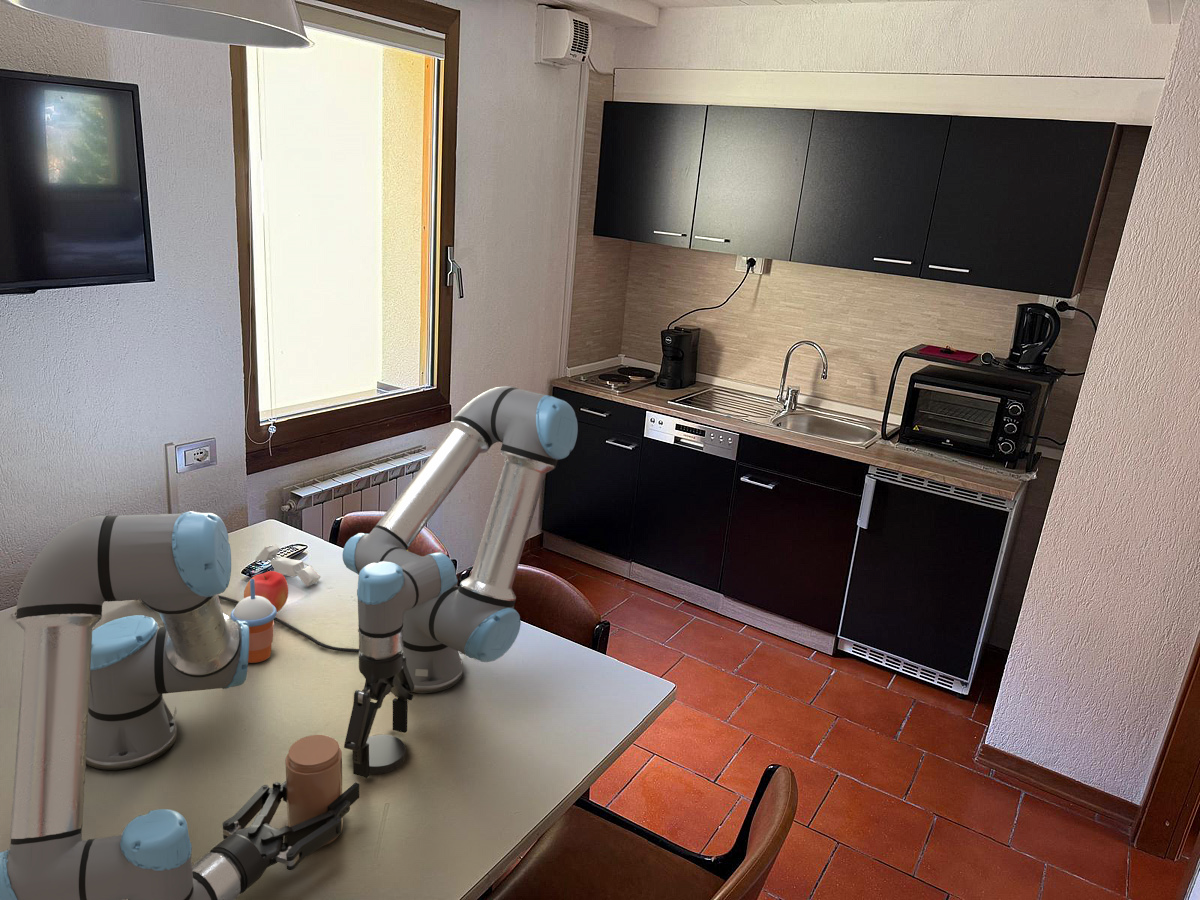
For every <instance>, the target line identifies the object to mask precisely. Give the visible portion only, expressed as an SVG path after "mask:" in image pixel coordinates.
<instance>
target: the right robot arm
mask: <svg viewBox="0 0 1200 900" xmlns="http://www.w3.org/2000/svg"><path fill="white" fill-rule="evenodd" d="M578 426H579V425H578V419H577V416H576V411H575V410H574V408H573V407H572V405H570V404H569V403H568V402H567V401H565V400H564V399H560V398H557V397H555V396H553V395H548V394H543V393H539V392H535V391H534V392H533V391H530V390H526V389H521V388H518V387H514V386H509V385H504V386H503V385H502V386H496V387H493V388H490V389H488V390H486V391H484V392H482V393H480V394H478V395H477V396H476V397H474V398H472V399H471V400H470V401H469V402H467V403H466V404H465V405H464V406H463V407H462V408H461V409H460V410H459V411H458V412H457V413H456V414H455V415H454V417H453V418H452V419H451V421H450V422H449V423H448V433H447V434H446V435H445V437H444V438H443V439H442V440H441V441H440V443H439V444H438V445H437V447H436V448H435V449H434V450H433V452H432V453H431V454H430V455H429V457H428V458H427V459H426V461H425V462H424V463H423V464H422V465H421V467H420V469H419V470H418V471H417V472H416V473H415V475H414V476H413V477H412V478H411V480H410V481H409V482H408V484H407V485H406V486H405V487H404V489H403V490H402V491H401V492H400V494H399V495H398V496H397V498H396V499H395V500H394V502H393V503H391V505H390V507H389V508H388V509H387V511H386V512H385V513H384V515H382V517H381V518H380V519H379V521H378V522H377V523H376V524H375V526H374V527H373V528H372V530H371V531H370V532H369V533H364V532H358V533H356V534H355V535H353V536H351V537H350V538H349V539H348V540H347V541H346V543H345V544H344V546H343V550H342V561H343V564H344V565H345V568H347V569H348V570H350V571H351V572H353V573H354V574H357V575H358V580H357V589H356V596H357V619H358V621H357V623H358V629H357V632H358V648H352V647H351V648H349V647H338V646H332V645H329V644H326V643H323V642H321V641H319V640H318V639H316V638H314V636H311V635H309V634H308V633H305V632H304V631H302V630H300V629H299V628H297V627H295V626H293V625H291V624H290V623H288V622H285V621H284V620H282V619H280V618H278V617H275V618H274V619H273V621H274V622H277V623H278V624H280V625H282V626H284V627H286V628H287V629H289V630H292V632H295V633H296V634H298V635H300V636H302V637H304V638H306V639H307V640H309V641H311V642H312V643H314V645H317V646H319V647H321V648H324V649H326V650H331V651H335V652H345V653H346V652H347V653H358V670H359V672H360V674H361V675H362V676H363V677H364V679H365V681H364V686H363V689H362V690H359V689H356V690H354V693H353V705H352V709H351V713H350V718H349V721H348V727H347V731H346V736H345V739H344V744H343V748H344V749H347V750H350V751H352V755H353V760H352V774H353V775H354V776H358V777H362V778H366V779H368V778H369V777H370V774H369V744H367V740H368V737H370V735H371V730H372V727H373V725H374V721H375V718H376V715H377V713H378V710H379V709H381V707H382V706H383V702H384V700H385V698H386V696H387V695H390V693H391V694H392V695H393V696H394V698H393V699H392V731H395V732H400V733H403V734H406V733H407V732H408V712H409V711H408V710H409V709H408V705H409V703H408V701H413V699H414V694H413V693H416V694H430V693H431V694H432V693H438V692H441V691H445V690H447V689H450V688H451V687H453V686H455V685H456V684H457V683H458V682H459V681H460V680H461V679H462V676H463V672H464V664H463V660H462V657H461V656H460V653H461V654H463V655H465V656H466V657H468V658H470V659H475V660H477V661H479V662H482V663H491V662H494V661H497V660H498V659H501V657H503V656H504V655H505V653H507V652H509V650H510V649H511V647H512V646H513V645H514V644H515V642H516V640H517V638H518V636H519V632H520V629H521V625H522V622H521V616H520V613H519V612H518V611H517V610H516V609H515V604H516V602H517V601H516V600H517V596H516V594H515V592H514V590H513V584H514V581H515V578H516V576H517V575H516V574H517V571H518V569H519V565H520V562H521V557H522V555H523V551H524V548H525V544H526V542H527V538H528V536H529V531H530V527H531V525H532V521H533V518H534V515H535V511H536V508H537V504H538V502H539V498H540V494H541V492H542V488H543V485H544V482H545V478H546V475H547V474H548V473H549V472H551V471H553V470H555V469H556V468H557V464H558V461H559V460H563V459H566V458H567V457H568V456H569V455H570V453H571V452H572V451H573V450H574V448H575V446H576V442H577V438H578V432H579V431H578V430H579V429H578V428H579V427H578ZM496 443H502V444H501V447H500V450H499V451H500V455H501V456H502V458H503V461H504V463H503V466H502V470H501V473H500V476H499V480H498V483H497V487H496V490H495V493H494V496H493V500H492V502H491V506H490V509H489V513H488V517H487V520H486V523H485V526H484V529H483V530H484V531H483V534H482V536H481V539H480V543H479V545H478V550H477V553H476V556H475V559H474V562H473V566H472V569H471V573H470V575H469V576H468V577H467V578H465V579H463V580H461V581H460V583H459V586H458V582H459V581H458V580H459V579H458V577H457V573H456V568H455V565H454V563H453V561H452V560H451V558H450V557H449V556H448V555H447V554H445V553H443V552H439V551H438V552H433V553H428V554H425V555H424V556H421V555H418V554H417V553H414V552H411V551H410V550H409V547H410V546H411V545H412V544H413V542H414V541H415V539H416V538H417V537H418V535H419V534H420V533H421V532H422V531H423V528H425V526H426V525H427V524H428V522H429V521H430V520H431V518H432V517H433V516H434V514H435V513H436V512H437V510H438V509H439V508H440V506H441V505H442V504H443V503H444V501H445V500H446V498H447V497H448V496H449V495H450V493H451V492H452V491H453V489H454V488H455V487H456V485H458V482H459V481H460V480H461V478H463V476H464V474H465V473H466V472H467V471H468V469H469V468H470V467H471V465H472V464H473V462H474V461H475V460H476V459H477V457H478V456H479V455H480V454H486V453H487V452H488V451H489V450H490V448H491V447H492V446H493V445H494V444H496ZM407 550H409V551H407ZM218 596H219V600H223V601H226V602H229V603H232V604H236V605H237V604H238V603H239V602H240V601H239V600H236V599H233V598H231V597H226V596H223V595H220V594H218ZM372 700H373V701H376V702H373V701H372Z"/></svg>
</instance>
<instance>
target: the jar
mask: <svg viewBox="0 0 1200 900" xmlns="http://www.w3.org/2000/svg"><path fill="white" fill-rule="evenodd" d="M340 747H341V746H340V744H339V741H338V740H336V739H335V737H332V736H329V735H325V734H312V735H307V736H304V737H302V738H299V739H298V740H296V741H295V742H293V743H292V744H291V745H290V747H289V748H288V752H287V754H286V757H285V763H284V764H285V781H286V791H287V802H286V812H287V815H286V816H287V817H286V818H287V826H289V827H292V826H294V825H297V824H299V823H301V822H304V821H306V820H308V819H311V818H313V817H316V816H318V815H320V814H323V813H325V812H327V811H328V806H329V805H330V804H331V803H332V802H333V801H334V800H336V799H337V798H338V797H339V796H340V795H341V794H343V752H342V749H341V748H340ZM343 818H344V816H343V817H342V818H341V819H342V829H344V819H343ZM338 837H339V836H337V837H336V838H334V839H333V840H331V841H330V842H328V843H327V844H325V845H324V846H326V845H329V844H331V843H332V842H334V841H335V840H336V839H337V838H338Z"/></svg>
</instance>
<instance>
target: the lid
mask: <svg viewBox="0 0 1200 900" xmlns="http://www.w3.org/2000/svg"><path fill="white" fill-rule="evenodd" d="M367 744H369V775H382V774H386V773H390V772H393V771H395V770H396V769H397V768H399V767H400V766H402V764H403V763H404V761H405V759H406V755H407V754H406V753H407V752H406V751H407V749H406V744H405V743H404V741H402V739H400V737H397V736H395V735H391V734H373V735H369V737H368V740H367ZM351 759H352V761H353V754H352V758H351Z"/></svg>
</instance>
